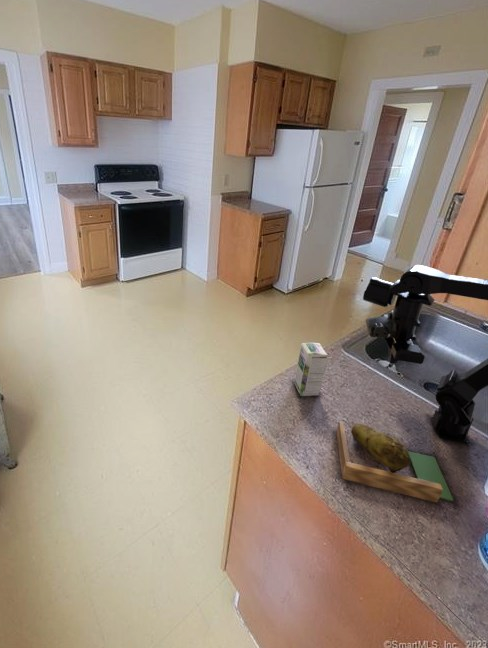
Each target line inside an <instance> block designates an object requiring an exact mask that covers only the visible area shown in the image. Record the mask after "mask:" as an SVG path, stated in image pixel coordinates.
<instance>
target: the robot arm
mask: <svg viewBox="0 0 488 648" xmlns="http://www.w3.org/2000/svg"><path fill="white" fill-rule="evenodd" d="M437 294H447V295H453V296H459V297H465V298H472V299H477V300H483V301H488V279H484V278H476V277H469V276H462V275H454V274H450V273H447V272H443V271H441V270H440V269H437V268H433V267H429V266H426V265H422V264H416V265H413V266H410V267H409V268H408V269H407V270H406V271H405V272H404V273H403V274H402V275H401V276H400V279H397V280H396V281H395V282H394V283H393V282H389V281H386V280H382V279H380V278H378V277H375V276H374V277H371V278H370V279H369V282H368V283H367V286H366V288H365V290H364V292H363V296H362V300H363V301H365V302H368V303H371V304H373V305H376V306H380V307H382V308H388V306H393V305H394V307H393V310H390V311H389V312H388V313H387V314H385V313H384V314H382V315H380V316H375V317H368V318H366V319H365V324H366V325H365V326H366V330H367V333H368V335H369V337H371V338H384V340H385V342H386V345H387V347H388V349H387V350H388V363H389V364H392V365H395V364H396V363H397V362H398V361H401V362H407V363H413V364H418V365H422V364H423V363H424V360H425V358H426V356H425V354H424V353H423V351H422V350H421V348H420V347H419V345H418V344H414V342H413V341H416V339H417V336H416V334H415V331H416V329H417V327H418V328H420V327H421V324H422V323H421V321H420V320H419V319H420V315H421V312H422V309H423V306H424V305H426V306H429V307H430V306H432V305H433V304H434V302H435V298H434V297H433V296H432V295H437ZM394 303H395V304H394ZM487 387H488V358H486V359H484V360H483V361H482V362H480V363H478V364H477V365H476V366H474V367H472V368H471V369H469V370H468V371H466V372H461V373H458V372H457V370H456V369H454V368H453V369H452V370H451V371H450V372H448V374H446V375H442V376H441V378H440V380H439V383H438V385H437V387H436V390H437V391H436V393H435V400H436V402H437V404H438V407H437V409H435V411H434V413H433V415H432V416H430V417H429V418H430V422H431V423H432V425H433V428H434V429H435V431H436V433H437V435H438V437H439V438H441V439H446V440H450V441H455V442H458V443H459V442H460V443H464V444H469V443H470V440H469V438H468V437H467V435H468V433H469V431H470V429H471V426H472V424H473V423H474V420H475V419H474V417H473V415H474V411H475V408H476V402H475V401H474V399H475V397H476V396H477V394H479V392H481V391H482V390H483V389H485V388H487Z"/></svg>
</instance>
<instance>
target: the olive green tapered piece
mask: <svg viewBox="0 0 488 648" xmlns="http://www.w3.org/2000/svg"><path fill="white" fill-rule="evenodd" d="M350 431H351V436H352V438H353V439H354V441H355V442H356V443H358V444H359V446H361V448H362V449H364V451H365V452H366V453H367V454H368V455H369V456H370V457H372V458H373V459H375V460H376V461H378V462H379V463H380V464H382V465H383V466H384V467H386V468H387V470H388V472H392V473H396V474H397V472H400V471H402V470H404V469H406V468H408V467H409V466H410V464H411V460H410V456H409V453H408V449H407V448H406V446H405V445H404V443H402V442H401V441H400V440H399V439H397V438H395V437H393V436H391V435H389V434H386V433H384V432H380V431H378V430H377V429H375V428H373V427H371V426H368V425H366V424H363V423H356V424H354V425H353V426H352V428H351V430H350Z"/></svg>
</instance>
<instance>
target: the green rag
mask: <svg viewBox="0 0 488 648" xmlns="http://www.w3.org/2000/svg"><path fill="white" fill-rule="evenodd" d="M407 451H408V450H407ZM408 453H409V456H410V464H411V466H412V469H413V471H414V475H415V478H417V479H421V480H425V481H429V482H434V483H438V484H441V486H442V489H443V491H442V493H441V495H440V497H439V499H441V500H446V501H449V502H454V498H453V495H452V494H451V491H450V489H449V487H448V484H447V482H446V480H445V477H444V475H443V474H442V471H441V469H440V466H439V464H438V461H437V460H436V457H435V456H431V455H426V454H422V453H418V452H413V451H408Z"/></svg>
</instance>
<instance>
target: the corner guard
mask: <svg viewBox="0 0 488 648" xmlns="http://www.w3.org/2000/svg"><path fill="white" fill-rule="evenodd" d="M335 435H336V441H337V446H338V447H337V448H338V455H339V462H340V469H341V478H342V479H343V480H345V481H350V482H354V483H357V484H362V485H366V486H369V487H373V488H378V489H381V490H385V491H389V492H392V493H397V494H401V495H406V496H410V497H413V498H417V499H421V500H424V501H429V502H433V503H439V500H440V498H439V497H440V495H441V493H442V491H443V489H442V486H441V484H438V483H434V482H429V481H425V480H421V479H417V477H412V476H408V475H404V474H399V473H397V472H396V473H392V472H390V471H389V470H388V471H387V470H383V469H380V468H375V467H370V466H366V465H363V464H359V463H353V462H351V459H350V454H349V453H350V452H349V449H348V448H349V447H348V442H347V441H348V440H347V435H346V430H345V423H344V421H338V425H337V430H336V433H335Z"/></svg>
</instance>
